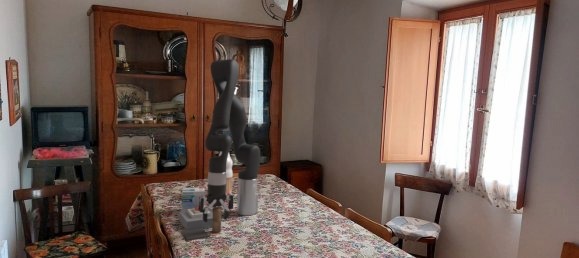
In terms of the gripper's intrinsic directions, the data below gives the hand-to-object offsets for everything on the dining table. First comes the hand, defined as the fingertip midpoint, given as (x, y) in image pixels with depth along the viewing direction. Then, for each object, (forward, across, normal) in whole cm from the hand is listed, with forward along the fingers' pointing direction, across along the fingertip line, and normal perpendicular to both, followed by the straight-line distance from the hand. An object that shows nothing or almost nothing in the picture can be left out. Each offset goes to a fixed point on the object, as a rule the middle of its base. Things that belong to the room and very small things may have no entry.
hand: (215, 220), depth 157 cm
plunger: (+2, +4, -12) cm, 13 cm away
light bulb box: (+5, +2, -28) cm, 28 cm away
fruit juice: (+4, -19, -44) cm, 48 cm away
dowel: (+5, 0, 0) cm, 5 cm away
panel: (+5, +4, -12) cm, 13 cm away
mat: (+5, +8, 0) cm, 10 cm away
